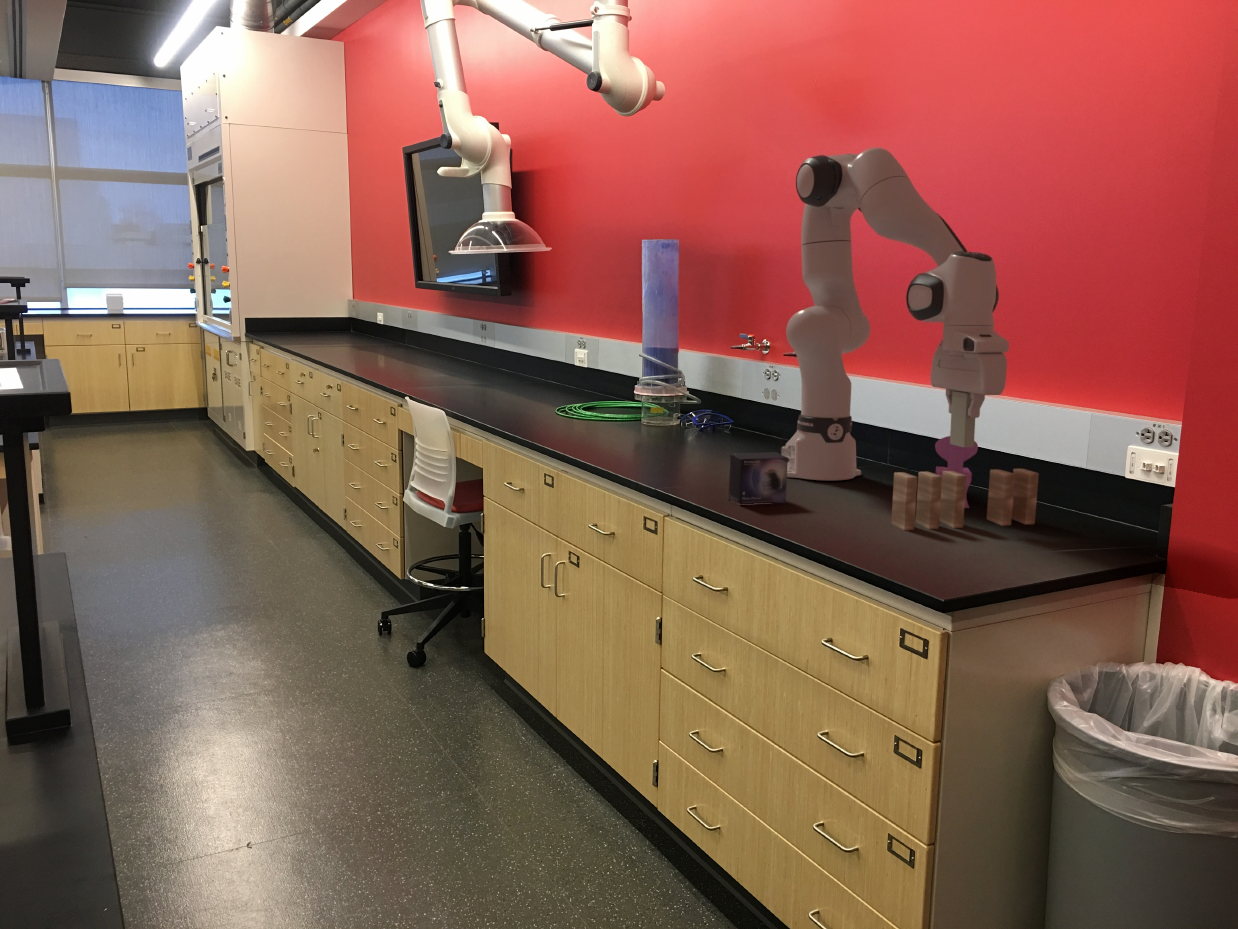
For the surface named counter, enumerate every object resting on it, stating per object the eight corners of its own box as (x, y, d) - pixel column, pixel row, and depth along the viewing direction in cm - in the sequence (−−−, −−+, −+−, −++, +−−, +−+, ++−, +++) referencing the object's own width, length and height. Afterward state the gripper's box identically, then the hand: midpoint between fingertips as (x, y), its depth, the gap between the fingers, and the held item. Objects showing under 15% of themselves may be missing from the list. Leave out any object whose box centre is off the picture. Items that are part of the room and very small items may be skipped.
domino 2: (928, 529, 183) (932, 476, 181) (915, 523, 188) (918, 471, 186) (938, 529, 184) (942, 476, 182) (925, 523, 188) (928, 471, 187)
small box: (739, 509, 199) (741, 458, 197) (727, 503, 205) (728, 453, 203) (787, 506, 202) (789, 456, 200) (773, 500, 208) (775, 451, 206)
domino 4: (953, 528, 184) (956, 475, 182) (939, 522, 189) (942, 471, 187) (963, 528, 185) (966, 475, 183) (948, 522, 189) (952, 470, 188)
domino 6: (1025, 525, 187) (1029, 473, 186) (1009, 519, 192) (1013, 468, 190) (1034, 524, 188) (1038, 473, 186) (1018, 519, 192) (1022, 468, 191)
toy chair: (969, 502, 208) (974, 431, 206) (975, 510, 200) (980, 437, 197) (928, 500, 210) (933, 430, 207) (932, 508, 201) (937, 435, 199)
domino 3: (963, 447, 183) (966, 393, 181) (949, 443, 188) (952, 391, 186) (973, 447, 183) (976, 393, 182) (959, 443, 188) (962, 390, 186)
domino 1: (904, 530, 182) (907, 477, 180) (891, 524, 187) (894, 472, 185) (914, 530, 182) (917, 477, 181) (900, 524, 187) (904, 472, 186)
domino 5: (1001, 526, 186) (1005, 474, 184) (986, 520, 191) (990, 469, 189) (1010, 525, 187) (1015, 473, 185) (995, 520, 191) (999, 469, 190)
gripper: (924, 339, 192) (920, 410, 194) (982, 343, 172) (977, 422, 174) (953, 338, 193) (950, 409, 195) (1015, 342, 173) (1010, 421, 175)
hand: (963, 415), depth 185 cm, fingers closed on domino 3, 5 cm apart
